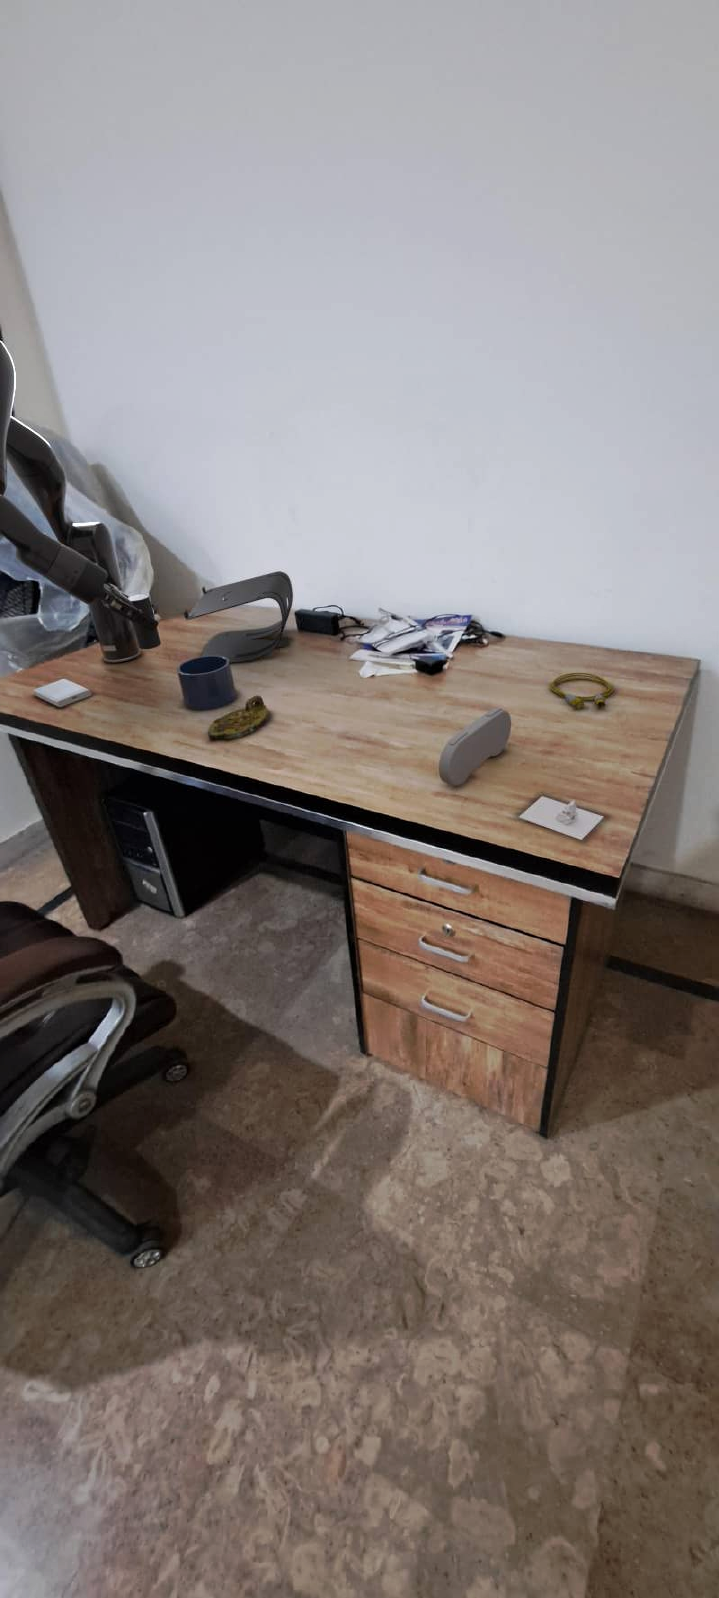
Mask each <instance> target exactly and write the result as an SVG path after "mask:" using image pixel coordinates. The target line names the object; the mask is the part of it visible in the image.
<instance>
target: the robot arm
mask: <svg viewBox="0 0 719 1598" xmlns="http://www.w3.org/2000/svg"><path fill="white" fill-rule="evenodd" d="M16 384H17V382H16V370H15V365H14V362H13V359H12V356H11V354H10V352H9V351H8V349H7V347H6V346H5V344H4V343H3V341H1V340H0V541H2V539H3V538H5V539H6V540H7V541H8V542H10V543H11V544H12V545H13V546H14V557H15V558H16V560H17V561H19V563H21V564H22V565H24V566H25V567H27V568H28V569H30V570H31V571H34V572H35V573H36V574H39V576H42V577H43V578H44V579H46V580H47V581H48V582H50V583H51V584H53V585H54V586H56V587H58V588H59V589H60V590H63V591H64V592H65V593H67V594H69V595H70V596H72V597H74V598H75V599H77V600H79V601H81V602H82V603H84V604H85V605H88V609H89V613H90V616H91V619H92V623H93V627H94V629H95V633H96V636H97V640H98V643H99V646H100V650H101V653H102V655H103V656H102V657H103V661H104V662H106V663H110V664H111V663H112V664H115V663H116V664H117V663H123V662H128V661H131V660H134V659H136V658H138V657H139V656H140V655H141V649H140V648H139V647H138V644H137V640H136V636H135V632H134V629H133V625H132V622H134V623H135V622H138V623H140V624H142V625H143V626H145V627H146V628H148V629H150V630H151V631H154V630H155V629H156V627H157V628H158V626H159V621H158V620H156V618H155V619H153V618H152V617H150V616H149V615H147V614H145V613H144V612H143V611H142V610H141V609H138V608H137V607H135V606H134V605H133V602H132V601H131V600H130V599H128V597H130V595H129V594H127V593H125V591H124V588H123V584H122V577H121V570H120V566H119V561H118V556H117V552H116V551H117V550H116V546H115V542H114V539H113V535H112V533H111V531H110V529H109V527H108V526H107V525H106V523H104V522H101V521H91V522H79V523H78V522H77V523H75V521H74V520H72V518H71V517H70V515H69V513H68V511H67V509H66V496H67V489H68V488H67V487H68V479H67V474H66V471H65V469H64V467H63V465H62V462H61V461H60V460H59V458H58V456H57V454H56V453H55V451H54V449H53V447H52V446H51V445H50V444H49V442H48V441H47V440H46V439H45V438H43V436H41V435H40V434H39V433H38V432H35V431H34V430H33V429H31V428H30V427H28V426H27V425H25V424H24V423H23V422H21V421H19V420H18V419H16V418H15V417H13V416H12V412H13V405H14V398H15V391H16ZM8 463H9V465H10V467H11V469H12V470H13V472H14V473H15V475H16V476H17V477H18V479H19V480H20V482H21V484H22V485H23V487H24V488H25V490H26V491H27V492H28V493H29V495H30V496H31V499H32V500H34V502H35V504H36V505H37V507H38V509H39V510H40V511H41V513H42V515H43V517H44V519H45V520H46V522H47V524H48V525H49V527H50V530H51V531H52V533H53V535H54V536H55V538H56V539H55V538H53V537H52V536H51V535H49V534H48V533H45V531H42V530H41V529H40V528H39V527H38V526H37V525H36V524H35V523H34V521H32V520H31V519H30V518H29V517H28V516H27V515H26V514H25V513H24V512H23V511H22V510H21V509H20V508H19V507H18V506H17V505H16V504H14V503H13V502H12V501H11V500H10V499H8V498H7V497H5V496H4V495H5V492H6V490H7V487H8ZM151 602H152V607H153V608H154V609H153V610H154V612H155V613H156V612H158V605H157V604H156V603H155V602H154V601H151ZM129 610H133V611H134V612H133V614H132V616H131V615H130V614H129Z"/></svg>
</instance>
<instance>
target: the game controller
mask: <svg viewBox="0 0 719 1598" xmlns="http://www.w3.org/2000/svg"><path fill="white" fill-rule="evenodd" d="M511 730H512V719H511V715H510V713H509V711H507V710H504V709H503V708H502V707H493V708H492V709H490V710H488V711H487V712H486V713H484V714H483V715H481V716H480V717H478V718H477V719H475V720H474V721H473V722H471V723H470V724H468V725H467V726H466V727H464V728H463V729H462V730H460V731H459V732H457V733H456V734H455V735H454V736H452V737H451V738H450V739H449V740H448V741H447V742H446V744H445V745H444V747H443V749H442V751H441V754H440V757H439V762H438V775H439V777H440V780H441V781H442V782H443V783H445V784H448V785H451V786H454V787H457V786H460V785H462V784H463V783H464V782H466V780H467V779H468V778H469V777H470V775H471V773H472V771H474V770H475V769H476V768H477V767H479V766H481V764H482V763H484V762H485V761H486V760H487V759H488V758H490V757H497V756H498V755H500V754H501V753H502V751H504V749H505V747H506V745H507V743H508V741H509V738H510V735H511Z"/></svg>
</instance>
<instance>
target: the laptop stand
mask: <svg viewBox="0 0 719 1598" xmlns="http://www.w3.org/2000/svg"><path fill="white" fill-rule="evenodd" d="M293 590H294V589H293V583H292V581H291V578H290V576H289V575H288V574H287V573H286V572H284V571H282V570H281V571H280V570H279V571H278V570H277V571H273V572H270V573H266V574H263V575H258V576H255V577H251V578H246V579H243V580H239V581H235V582H231V583H228V584H224V585H220V586H217V587H212V588H209V589H206V587H205V586H202V588H201V591H202V593H203V594H202V595H201V596H200V598H199V599H198V601H197V602H196V604H194V606H193V607H192V608H191V610H190V612H189V613H188V610H187V609H185V610H184V611H183V616H184V618H185V620H186V621H189V620H192V619H196V618H200V617H203V616H206V615H211V614H214V613H217V612H222V611H225V610H229V609H231V608H232V609H233V608H236V607H239V606H244V605H247V604H250V603H254V602H258V601H261V600H265V599H271V600H273V601H275V602H276V603H277V605H278V606H279V610H280V614H281V620H280V621H277V622H276V623H275V624H274V623H273V624H272V625H269V626H266V627H261V628H255V629H244V630H233V631H224V632H221V633H218V634H217V635H215V636H214V637H213V638H212V639H211V640H210V642H209V643H208V644H207V645H206V647H205V649H204V651H203V654H202V656H210V655H218V656H224V657H226V658H228V659H229V660H230V664H239V663H240V664H241V663H246V662H250V661H255V660H257V659H260V658H263V657H265V656H266V655H269V654H270V653H272V652H273V651H274V650H275V649H282V648H286V647H288V646H289V644H290V637H288V636H287V637H283V635H284V631H285V628H286V625H287V622H288V619H289V616H290V613H291V610H292V606H293V602H294V591H293ZM278 631H279V633H278V635H277V636H276V637H269V636H272V635H273V634H275V633H277V632H278ZM267 637H269V638H267Z"/></svg>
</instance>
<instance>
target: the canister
mask: <svg viewBox="0 0 719 1598" xmlns="http://www.w3.org/2000/svg"><path fill="white" fill-rule="evenodd" d="M128 599H130V600H131V601H132V602H133V605H134V606H135V607H137V608H138V609H141V610H142V611H143V612H144V613H145V614H147V615H149V616H150V617H152V618H153V619H155V620H156V618H155V613H153V610H154V609H153V606H152V605H151V602H152V601H151V598H150V595H149V594H145V593H142V594H141V593H140V594H133V595H129V597H128ZM133 612H134V611H133V610H129V614H130V615H131V616H132V614H133ZM132 625H133V629H134V632H135V636H136V640H137V644H138V647H139V649H140V650H151V649H155V648H158V647H159V646H161V645H162V642H161V638H160V634H159V630H158V626H157V627H156V629H155V630H154V631H151V630H150V629H148V628H146V627H145V626H143V625H142V624H140V623H138V622H135V623H134V622H132Z"/></svg>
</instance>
